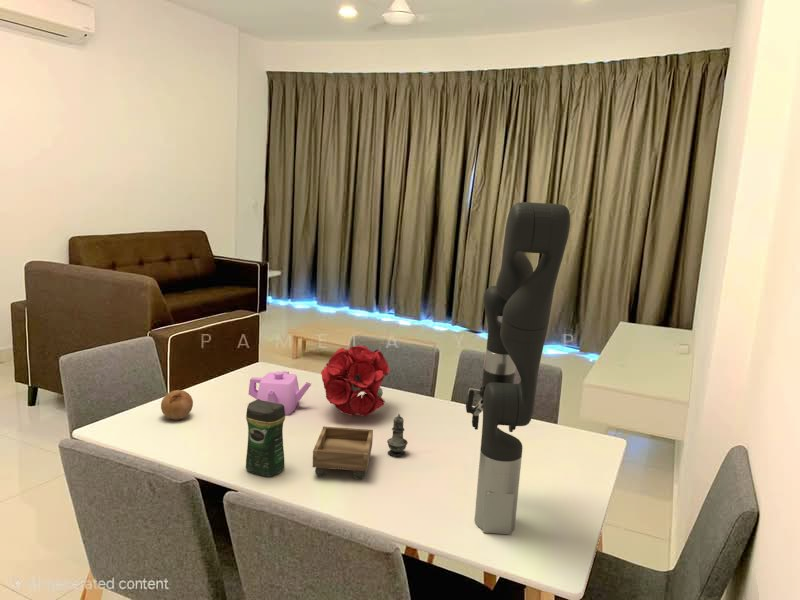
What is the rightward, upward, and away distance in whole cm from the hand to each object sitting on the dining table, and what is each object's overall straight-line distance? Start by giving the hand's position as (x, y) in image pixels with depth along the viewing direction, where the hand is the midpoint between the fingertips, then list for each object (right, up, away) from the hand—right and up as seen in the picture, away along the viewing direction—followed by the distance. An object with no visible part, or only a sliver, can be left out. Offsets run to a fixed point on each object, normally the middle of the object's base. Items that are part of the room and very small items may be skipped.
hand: (493, 429), depth 144 cm
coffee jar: (-59, -13, +9) cm, 61 cm away
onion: (-93, -5, +40) cm, 102 cm away
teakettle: (-64, -5, +53) cm, 83 cm away
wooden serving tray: (-38, -13, +14) cm, 43 cm away
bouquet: (-37, -6, +54) cm, 66 cm away
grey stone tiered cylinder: (-24, -12, +23) cm, 35 cm away
